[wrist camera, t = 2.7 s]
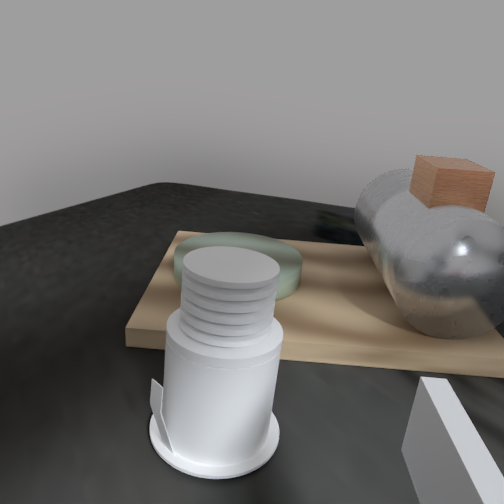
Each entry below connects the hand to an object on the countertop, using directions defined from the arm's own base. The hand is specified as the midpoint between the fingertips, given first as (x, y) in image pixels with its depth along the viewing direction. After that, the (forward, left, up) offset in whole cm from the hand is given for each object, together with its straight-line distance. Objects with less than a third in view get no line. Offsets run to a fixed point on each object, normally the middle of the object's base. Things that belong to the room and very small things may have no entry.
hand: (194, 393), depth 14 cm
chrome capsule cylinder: (-31, +3, -8) cm, 32 cm away
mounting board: (-26, -5, -9) cm, 28 cm away
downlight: (-8, -4, -10) cm, 13 cm away
